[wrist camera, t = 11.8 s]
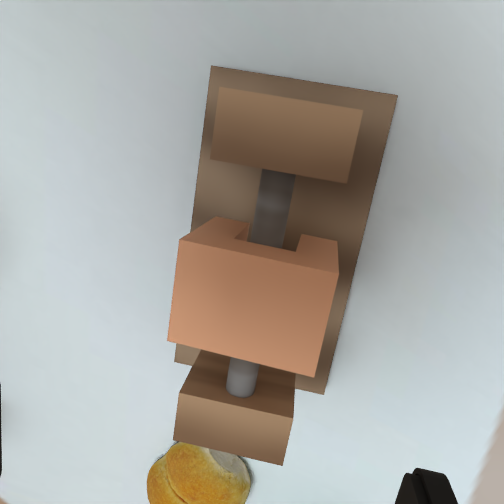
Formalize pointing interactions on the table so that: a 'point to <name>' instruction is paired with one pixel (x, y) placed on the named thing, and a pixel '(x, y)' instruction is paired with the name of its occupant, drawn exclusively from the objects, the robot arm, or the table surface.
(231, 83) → the stand
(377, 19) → the table surface
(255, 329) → the clip
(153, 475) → the bread roll
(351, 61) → the table surface
